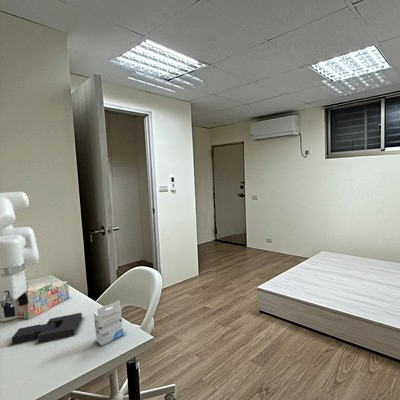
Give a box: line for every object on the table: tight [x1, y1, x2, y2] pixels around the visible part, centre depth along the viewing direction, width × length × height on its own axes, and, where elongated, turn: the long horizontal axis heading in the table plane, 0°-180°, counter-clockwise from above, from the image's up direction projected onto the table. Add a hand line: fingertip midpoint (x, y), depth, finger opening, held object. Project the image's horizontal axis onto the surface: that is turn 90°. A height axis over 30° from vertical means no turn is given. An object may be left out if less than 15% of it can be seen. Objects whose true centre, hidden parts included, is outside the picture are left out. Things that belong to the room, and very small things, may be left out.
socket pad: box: [37, 312, 83, 344], centre depth 113 cm, size 12×14×3 cm
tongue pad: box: [11, 322, 57, 345], centre depth 109 cm, size 12×7×3 cm, turn 112°
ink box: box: [93, 300, 124, 346], centre depth 105 cm, size 8×5×15 cm, turn 140°
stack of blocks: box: [16, 280, 70, 320], centre depth 133 cm, size 21×6×12 cm, turn 168°
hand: (17, 310), depth 107 cm, fingers open, 9 cm apart
